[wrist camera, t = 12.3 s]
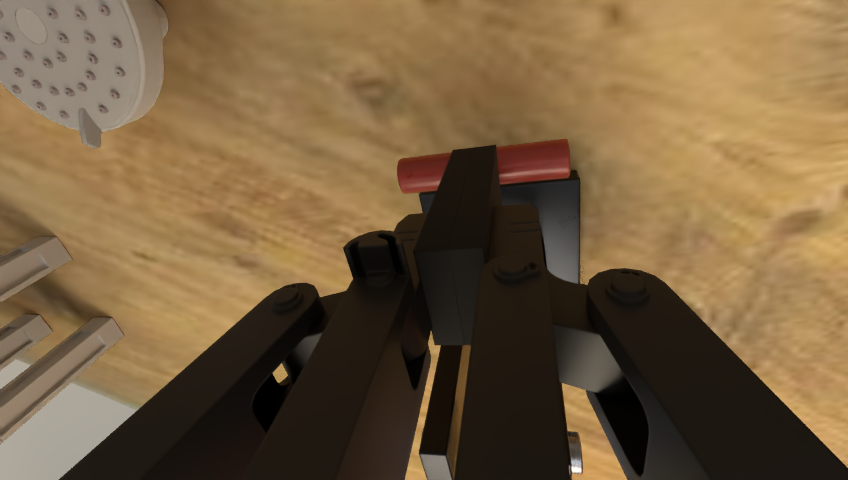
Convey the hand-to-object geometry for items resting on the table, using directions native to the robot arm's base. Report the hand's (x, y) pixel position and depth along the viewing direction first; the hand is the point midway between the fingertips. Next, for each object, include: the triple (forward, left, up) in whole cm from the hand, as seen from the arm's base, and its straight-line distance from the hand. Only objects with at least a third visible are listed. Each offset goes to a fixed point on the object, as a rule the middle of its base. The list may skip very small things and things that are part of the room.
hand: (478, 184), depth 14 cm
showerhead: (-5, -19, -9) cm, 22 cm away
